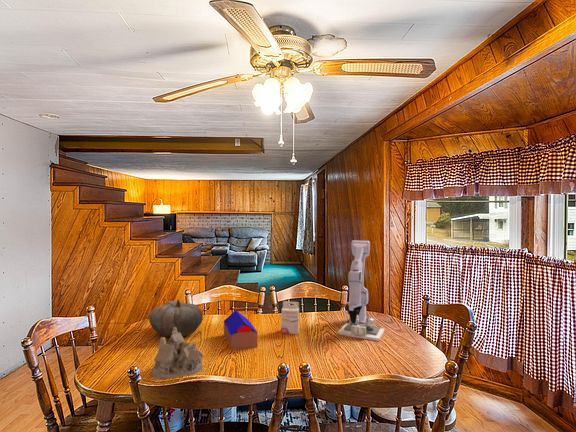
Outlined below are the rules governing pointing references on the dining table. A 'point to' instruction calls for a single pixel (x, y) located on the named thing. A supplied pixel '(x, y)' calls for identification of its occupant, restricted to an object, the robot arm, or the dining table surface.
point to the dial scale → (361, 332)
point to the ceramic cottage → (176, 358)
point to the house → (239, 332)
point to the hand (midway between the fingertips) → (354, 321)
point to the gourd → (175, 318)
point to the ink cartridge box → (290, 318)
